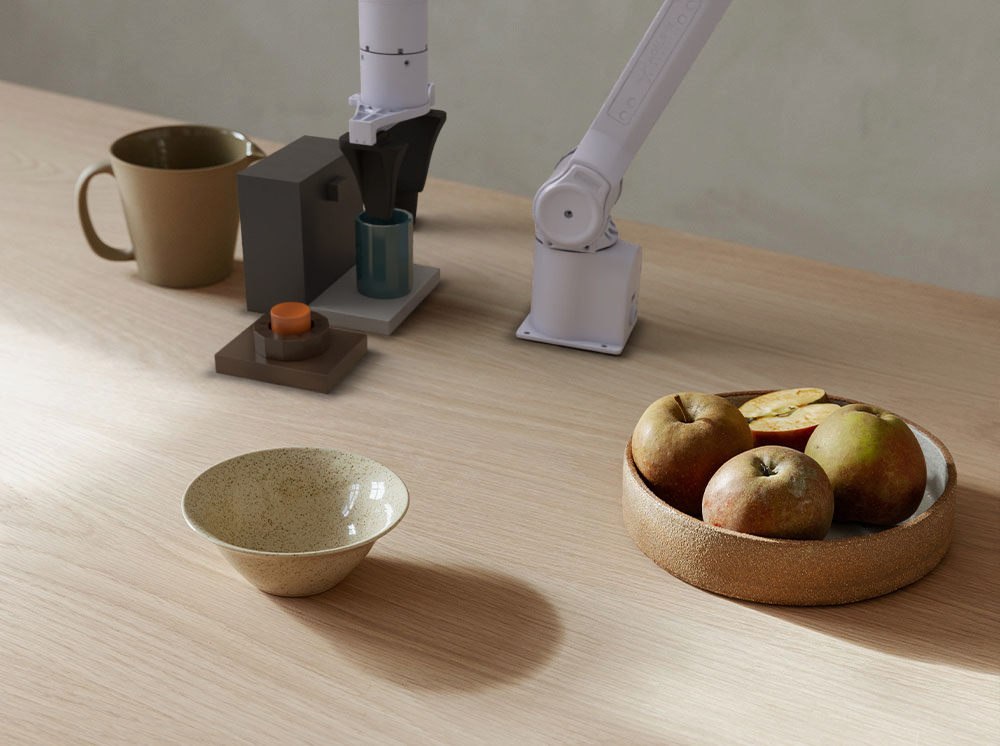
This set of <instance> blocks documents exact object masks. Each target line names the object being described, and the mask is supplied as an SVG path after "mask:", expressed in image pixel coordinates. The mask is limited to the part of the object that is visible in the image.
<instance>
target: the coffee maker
mask: <svg viewBox="0 0 1000 746" xmlns="http://www.w3.org/2000/svg"><path fill="white" fill-rule="evenodd" d="M236 186H237V198H238V199H237V200H238V211H239V223H240V224H239V225H240V237H241V248H242V262H243V275H244V289H245V299H246V301H245V302H246V310H247V312H251V313H257V314H262V315H265V314H268V313H271V309H272V308H273V307H274V306H276V305H278V304H281V303H286V302H298V303H303V304H305V305H307V306H309V308H310V311H314V312H318V313H319V314H321V315H323V316H325V317H326V318H328V321H329V327H330V326H331V327H337V328H343V329H348V330H354V331H359V332H366V333H371V334H375V335H383V336H387V337H390V336H391V334H393V332H395V330H396V329H397V328H398V327H399V326H400V325H401V324H402V323H403V322H404V321H405V320H406V318H408V317H409V315H411V313H412V312H413V311H414V310H415V309H416V308H417V307H418V306H419V305H420V304H421V303H422V302H423V301H424V299H426V297H427V296H428V295H429V294H430V293H431V292H433V290H434V289H435V288H436V287H437V286H438V285H439V284H440V283H441V268H440V267H436V266H430V265H422V264H416V263H413V289H412V291H411V292H410V293H409V294H407V295H405V296H403V297H400V298H395V299H374V298H370V297H366V296H364V295H362V294H360V293H359V292H358V290H357V282H356V247H355V215H356V214H357V213H358V212H359V211H362V210H365V208H364V204H363V200H362V197H361V193H360V190H359V186H358V183H357V180H356V177H355V175H354V172H353V170H352V168H351V166H350V164H349V162H348V160H347V159H346V157H345V156H344V154H343V153H342V151H341V150H340V147H339V138H330V137H323V136H313V135H306V134H305V135H304V134H303V135H302V136H301V137H298V138H297V139H295V140H293V141H292V142H290V143H288V144H286V145H285V146H283V147H281V148H280V149H277V150H276V151H274V152H272V153H271V154H269V155H267V156H265V157H264V158H261V159H259V160H258V161H256V162H254V163H253V164H251V165H249V166H248V167H246V168H244V169H242V170H240V171H238V172H237V173H236Z"/></svg>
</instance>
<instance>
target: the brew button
mask: <svg viewBox="0 0 1000 746" xmlns="http://www.w3.org/2000/svg"><path fill="white" fill-rule="evenodd" d="M271 325H272V331H273V332H274V333H277V334H283V335H297V334H301V333H305V332H308V331H310V330H311V311H310V308H309V306H307V305H305V304H303V303H298V302H286V303H281V304H278V305H276V306H274V307H273V308H272V309H271Z"/></svg>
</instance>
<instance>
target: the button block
mask: <svg viewBox="0 0 1000 746" xmlns="http://www.w3.org/2000/svg"><path fill="white" fill-rule="evenodd" d="M368 348H369V347H368V334H366V333H360V332H355V331H349V330H343V329H337V328H333V327H330V325H329V321H328V318H326V317H325V316H323V315H321V314H319V313H318V312H314V311H311V330H310V331H308V332H305V333H301V334H297V335H283V334H277V333H274V332H273V331H272V325H271V313H268V314H262V315H261V316H260V317H258V318H257V319H256V320H255V321H254V322H252V323H251V324H250V325H248V327H246V328H245V329H244V330H243V331H241V332H240V333H239V334H238V335H236V336H235V337H234V338H232V340H230V341H229V342H228V343H226V344H225V345H224V346H223V347H222V348H221V349H219V350H218V351H217V352H216V353H214V365H215V373H216V374H221V375H227V376H231V377H238V378H243V379H248V380H252V381H258V382H262V383H266V384H267V383H268V384H273V385H279V386H282V387H289V388H293V389H298V390H304V391H309V392H315V393H319V394H323V395H324V394H325V395H328V394H329V393H330V392H331V391H332V390H333V389H334V388H335V387H336V386H337V385H338V384H339V383H340V382H341V380H342V379H343V378H344V377H346V375H348V373H349V372H350V371H351V370H352V369H353V368H354V367H355V366H356V365H357V364H358V363H359V362H360V361H361V360H362V358H364V356H366V354H367V353H368V352H369V351H368Z"/></svg>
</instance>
